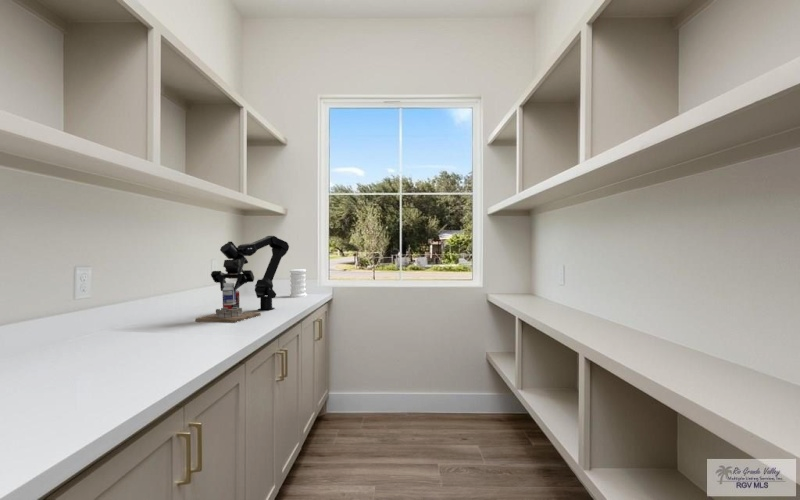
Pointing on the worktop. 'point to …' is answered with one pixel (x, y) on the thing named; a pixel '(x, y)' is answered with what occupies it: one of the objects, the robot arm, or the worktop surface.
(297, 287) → the decorative container
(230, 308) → the canned food
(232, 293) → the pill bottle
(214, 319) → the nut base
